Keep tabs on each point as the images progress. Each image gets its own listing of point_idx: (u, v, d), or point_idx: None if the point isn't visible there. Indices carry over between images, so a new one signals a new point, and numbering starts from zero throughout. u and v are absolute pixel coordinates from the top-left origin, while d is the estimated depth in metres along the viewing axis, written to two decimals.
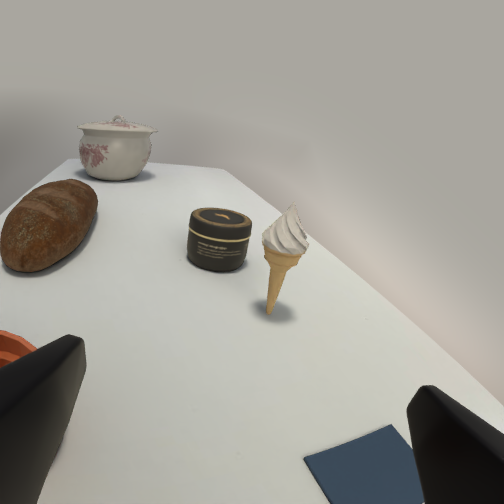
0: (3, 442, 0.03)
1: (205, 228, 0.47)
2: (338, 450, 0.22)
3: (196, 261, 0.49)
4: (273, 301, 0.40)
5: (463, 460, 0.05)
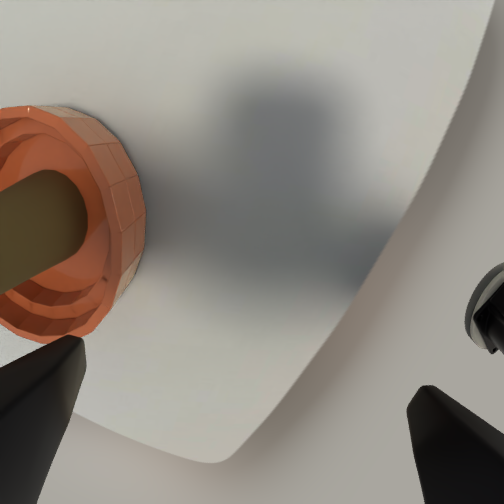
0: (3, 442, 0.03)
1: None
2: None
3: None
4: None
5: (463, 460, 0.05)
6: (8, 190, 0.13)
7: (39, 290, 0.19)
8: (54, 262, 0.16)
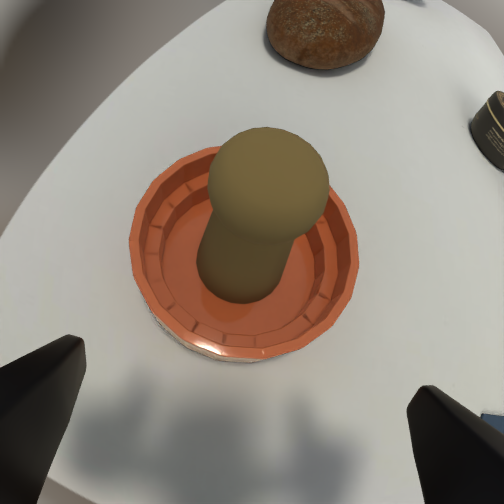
0: (3, 442, 0.03)
1: None
2: (499, 420, 0.20)
3: (479, 141, 0.34)
4: None
5: (463, 460, 0.05)
6: None
7: (165, 235, 0.21)
8: (214, 274, 0.19)
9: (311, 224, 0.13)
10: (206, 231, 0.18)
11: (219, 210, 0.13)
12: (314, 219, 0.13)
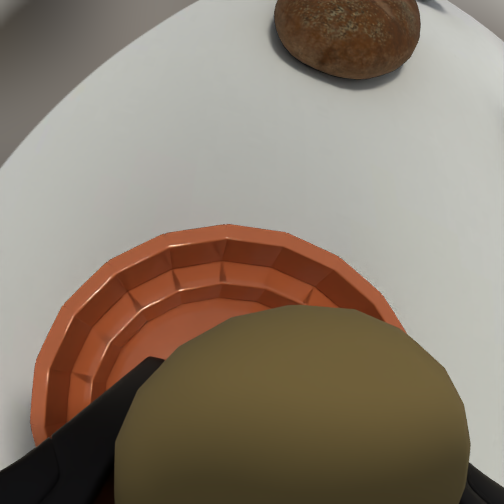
0: None
1: None
2: None
3: None
4: None
5: None
6: None
7: (103, 377, 0.11)
8: None
9: None
10: None
11: None
12: None
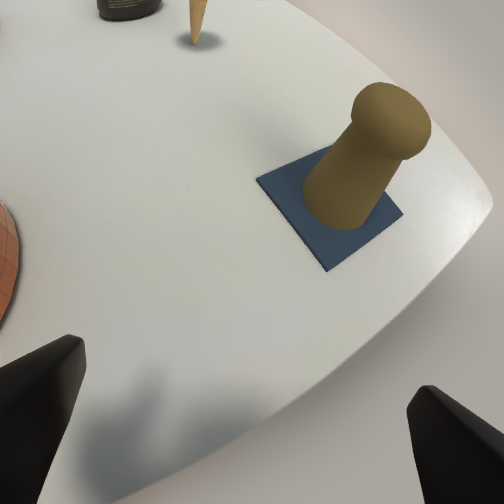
0: (3, 442, 0.03)
1: None
2: (290, 168, 0.26)
3: (109, 16, 0.32)
4: (197, 30, 0.30)
5: (463, 460, 0.05)
6: None
7: None
8: (331, 197, 0.22)
9: (424, 145, 0.16)
10: (327, 161, 0.21)
11: (370, 128, 0.16)
12: (426, 142, 0.16)
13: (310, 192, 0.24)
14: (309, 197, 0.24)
